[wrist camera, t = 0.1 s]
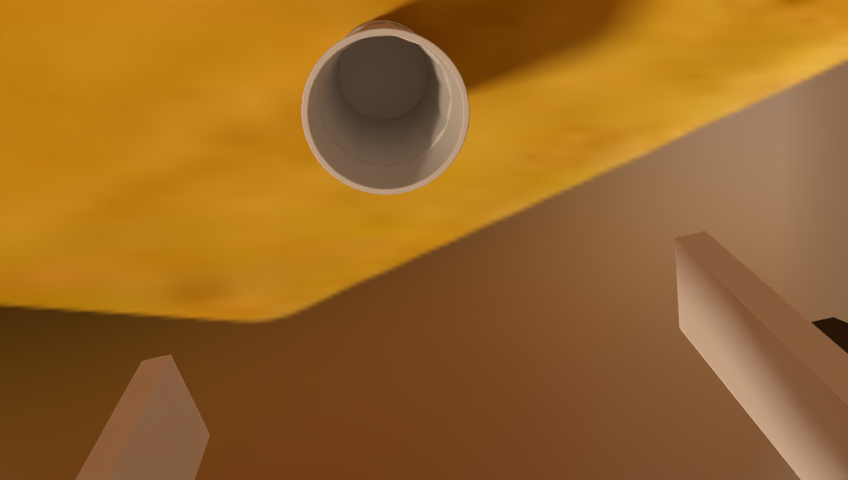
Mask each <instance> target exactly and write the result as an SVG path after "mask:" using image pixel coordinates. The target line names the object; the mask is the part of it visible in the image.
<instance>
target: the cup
mask: <svg viewBox="0 0 848 480" xmlns="http://www.w3.org/2000/svg"><path fill="white" fill-rule="evenodd" d="M301 114H302V124H303V129H304V133H305V136H306V139H307V142H308V144H309V146H310V148H311V150H312V152H313V154H314V155H315V157H316V158H317V160H318V161H319V162H320V164H321V165H322V166H323V167H324V168H325V169H326V170H327V171H328V172H329V173H330V174H331V175H333V176H334V177H335V178H336V179H338V180H339V181H341V182H343V183H344V184H346V185H348V186H350V187H352V188H355V189H357V190H360V191H364V192H368V193H373V194H383V195H389V194H400V193H405V192H409V191H412V190H415V189H418V188H420V187H422V186H424V185H426V184H428V183H430V182H431V181H433V180H434V179H436V178H437V177H438V176H440V175H441V174H442V173H443V172H444V171H445V170H446V169H447V168H448V167H449V166H450V165H451V163H452V162H453V161H454V159H455V158H456V156H457V155H458V153H459V151H460V150H461V148H462V145H463V143H464V141H465V138H466V134H467V130H468V125H469V116H470V108H469V99H468V94H467V90H466V86H465V83H464V81H463V78H462V76H461V74H460V72H459V71H458V69H457V67H456V66H455V64H454V63H453V62H452V60H451V59H450V58H449V57H448V56H447V54H446V53H445V52H444V51H442V50H441V49H440V48H439V47H438V46H437V45H435V44H434V43H432V42H431V41H429V40H428V39H426V38H424V37H422V36H420V35H417V34H416V33H415V32H414V31H413V30H411V29H410V28H408V27H407V26H405V25H403V24H401V23H398V22H395V21H390V20H374V21H369V22H366V23H364V24H361V25H359V26H358V27H356V28H355V29H353V30H352V31H351V32H350V33H349V34H348V35H347V36H346V37H345V38H344V39H342V40H341V41H339V42H338V43H336V44H335V45H333V46H332V47H331V48H330V49H329V50H328V51H327V52H325V53H324V55H323V56H322V57H321V58H320V59H319V60H318V62H317V63H316V65H315V66H314V68H313V69H312V71H311V73H310V75H309V77H308V80H307V82H306V85H305V88H304V92H303V97H302V107H301Z"/></svg>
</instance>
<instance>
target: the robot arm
mask: <svg viewBox="0 0 848 480" xmlns="http://www.w3.org/2000/svg"><path fill="white" fill-rule="evenodd" d="M675 248H676V249H675V250H676V266H677V287H678V306H679V324H680V329H681V331H682V332H683V333H684V334H685V335H686V337H687V338H688V339H689V340H690V342H691V343H692V344H693V345H694V347H695V348H696V349H697V350H698V352H699V353H700V354H701V355H702V357H703V358H704V359H705V360H706V362H707V363H708V364H709V365H710V367H711V368H712V369H713V370H714V372H715V373H716V374H717V375H718V377H719V378H720V379H721V380H722V382H723V383H724V384H725V385H726V387H727V388H728V389H729V390H730V391H731V393H732V394H733V395H734V397H735V398H736V399H737V400H738V402H739V403H740V404H741V405H742V407H743V408H744V409H745V410H746V412H747V413H748V414H749V415H750V416H751V418H752V419H753V420H754V422H755V423H756V424H757V425H758V427H759V428H760V429H761V430H762V431H763V433H764V434H765V435H766V436H767V438H768V439H769V440H770V442H771V443H772V444H773V445H774V447H775V448H776V449H777V450H778V452H779V453H780V454H781V455H782V457H783V458H784V459H785V460H786V461H787V463H788V464H789V465H790V467H791V468H792V469H793V470H794V472H795V473H796V474H797V475H798V477H799V478H800V479H801V480H848V323H846V322H844V321H841V320H839V319H836V318H834V317H832V318H828V319H823V320H819V321H815V322H810V321H809V320H808V319H806V318H805V317H804V316H803V315H802V314H801V313H800V312H798V311H797V310H796V309H795V308H794V307H793V306H791V305H790V304H789V303H788V302H787V301H786V300H784V299H783V298H782V297H781V296H780V295H779V294H778V293H776V292H775V291H774V290H773V289H772V288H771V287H769V286H768V285H767V284H766V283H765V282H764V281H762V280H761V279H760V278H759V277H758V276H757V275H755V274H754V273H753V272H752V271H751V270H750V269H748V268H747V267H746V266H745V265H744V264H743V263H741V262H740V261H739V260H738V259H737V258H736V257H734V256H733V255H732V254H731V253H730V252H729V251H728V250H726V249H725V248H724V247H723V246H722V245H721V244H719V243H718V242H717V241H716V240H715V239H714V238H712V237H711V236H710V235H709V234H708V233H706V232H705V231H704V232H700V233H695V234H691V235H687V236H682V237H678V238H675ZM209 435H210V434H209V432H208V430H207V428H206V426H205V424H204V422H203V420H202V418H201V416H200V414H199V412H198V409H197V407H196V405H195V403H194V401H193V399H192V397H191V395H190V393H189V391H188V389H187V387H186V385H185V383H184V381H183V379H182V377H181V375H180V373H179V371H178V368H177V367H176V364H175V362H174V360H173V358H172V356H171V355H166V356H162V357H158V358H153V359H149V360H145V361H142V362H141V364H140V366H139V367H138V369H137V371H136V373H135V374H134V376H133V378H132V380H131V382H130V383H129V385H128V387H127V389H126V391H125V393H124V394H123V396H122V398H121V399H120V401H119V403H118V405H117V407H116V408H115V410H114V412H113V414H112V415H111V418H110V419H109V421H108V423H107V424H106V426H105V428H104V430H103V432H102V433H101V435H100V437H99V439H98V441H97V442H96V444H95V446H94V448H93V449H92V451H91V453H90V455H89V457H88V458H87V460H86V462H85V464H84V465H83V467H82V469H81V471H80V473H79V474H78V476H77V478H76V480H195V477H196V474H197V471H198V468H199V465H200V462H201V459H202V456H203V453H204V450H205V447H206V444H207V441H208V438H209Z"/></svg>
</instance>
